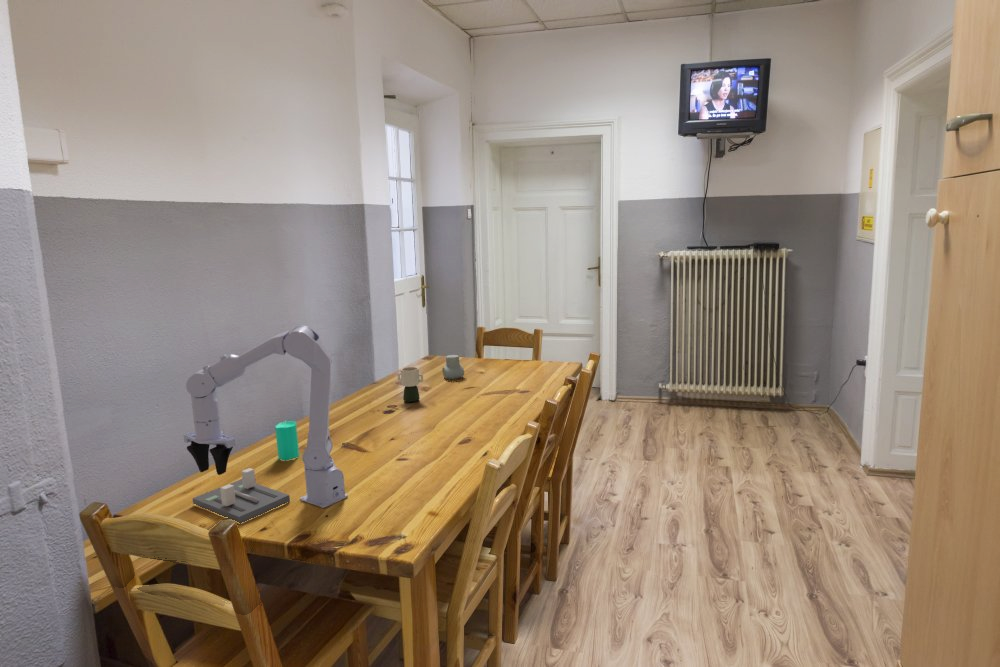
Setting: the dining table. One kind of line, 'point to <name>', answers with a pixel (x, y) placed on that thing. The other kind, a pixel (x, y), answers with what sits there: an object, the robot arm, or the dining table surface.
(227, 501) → the block
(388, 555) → the dining table surface
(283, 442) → the candle
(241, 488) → the slider control panel
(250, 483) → the breaker
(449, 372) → the air freshener
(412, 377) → the character mug
